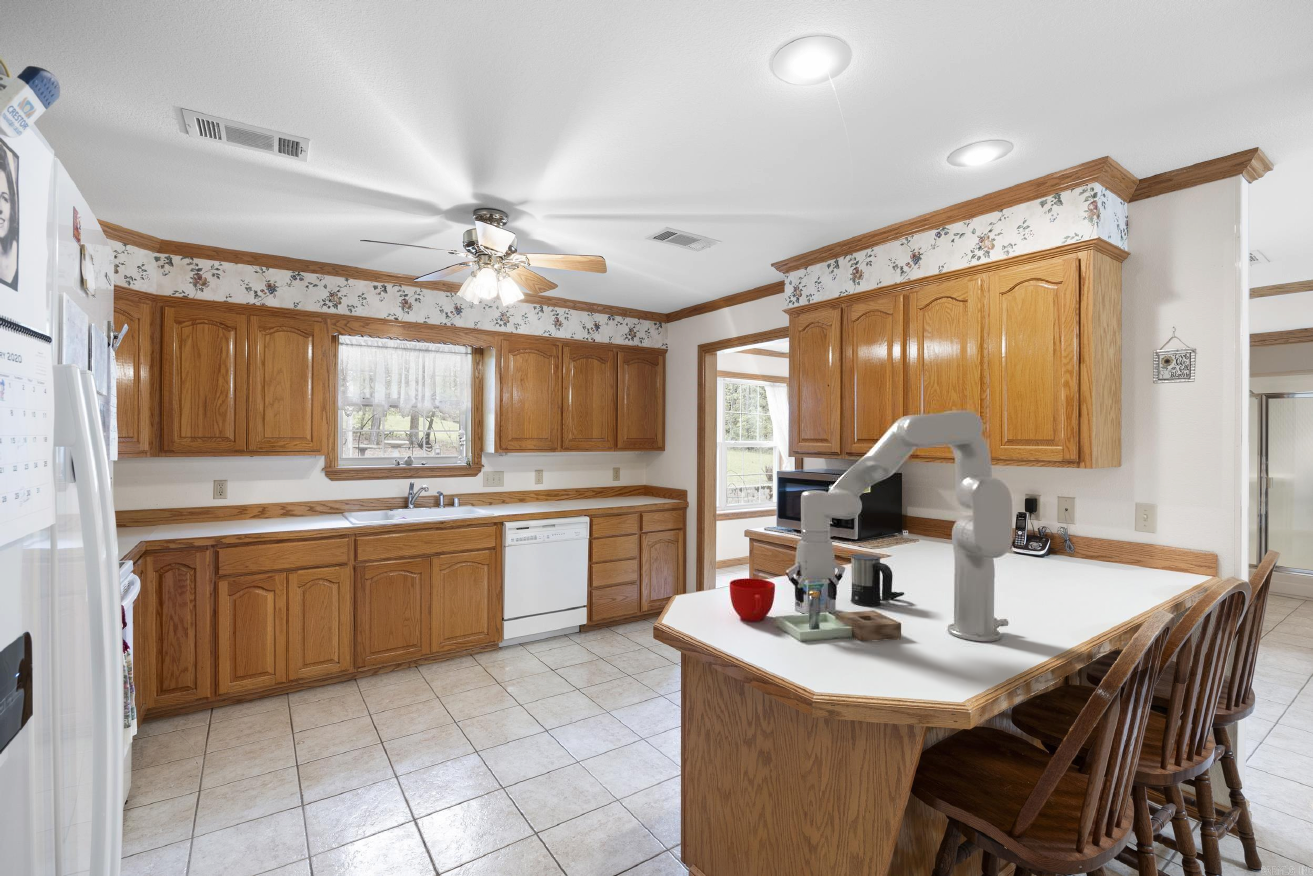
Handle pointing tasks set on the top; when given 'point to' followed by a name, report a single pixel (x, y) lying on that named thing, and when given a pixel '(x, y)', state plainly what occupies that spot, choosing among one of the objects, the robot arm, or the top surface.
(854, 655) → the top surface
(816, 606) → the pin
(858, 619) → the block
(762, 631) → the top surface
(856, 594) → the milk frother
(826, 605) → the light bulb box
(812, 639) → the tray
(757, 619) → the ceramic cup
